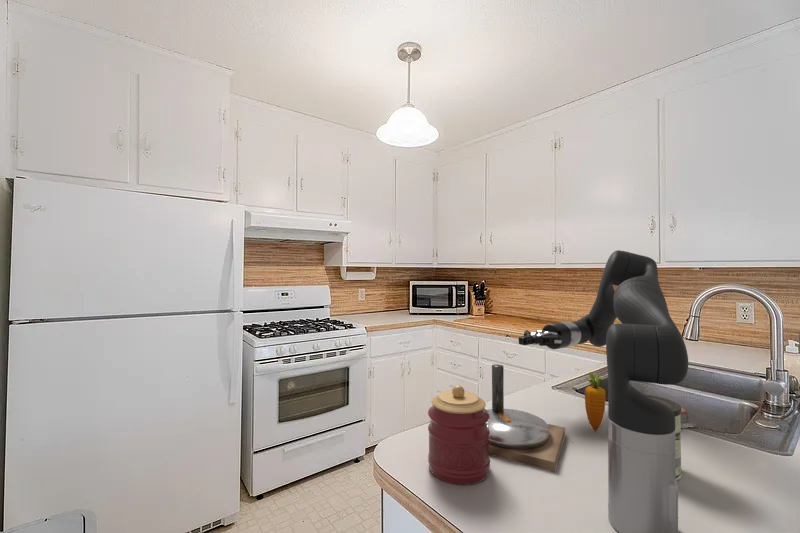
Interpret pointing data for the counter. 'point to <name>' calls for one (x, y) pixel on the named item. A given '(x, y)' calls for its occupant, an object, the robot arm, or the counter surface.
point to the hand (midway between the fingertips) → (521, 341)
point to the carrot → (595, 402)
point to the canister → (459, 437)
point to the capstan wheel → (512, 420)
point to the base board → (535, 451)
